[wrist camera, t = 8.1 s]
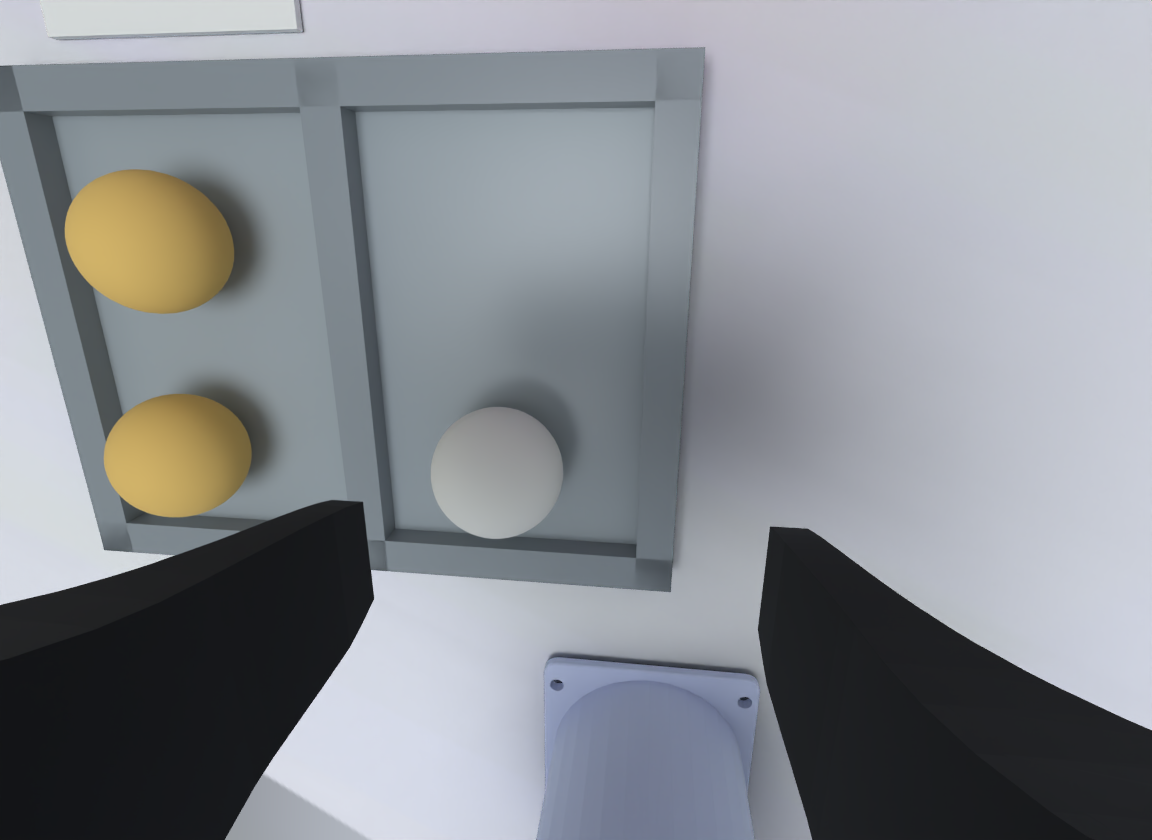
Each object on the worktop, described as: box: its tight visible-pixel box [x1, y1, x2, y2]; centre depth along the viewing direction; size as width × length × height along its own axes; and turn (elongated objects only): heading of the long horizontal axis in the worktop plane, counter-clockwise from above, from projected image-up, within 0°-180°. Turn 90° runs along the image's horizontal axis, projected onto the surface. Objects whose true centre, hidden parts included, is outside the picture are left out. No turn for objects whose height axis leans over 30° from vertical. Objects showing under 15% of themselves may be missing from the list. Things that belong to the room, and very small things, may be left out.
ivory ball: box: [431, 407, 563, 539], centre depth 18 cm, size 4×4×4 cm
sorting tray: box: [0, 47, 705, 592], centre depth 20 cm, size 16×21×1 cm
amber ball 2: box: [104, 394, 252, 517], centre depth 20 cm, size 4×4×4 cm
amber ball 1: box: [65, 169, 234, 314], centre depth 17 cm, size 4×4×4 cm
